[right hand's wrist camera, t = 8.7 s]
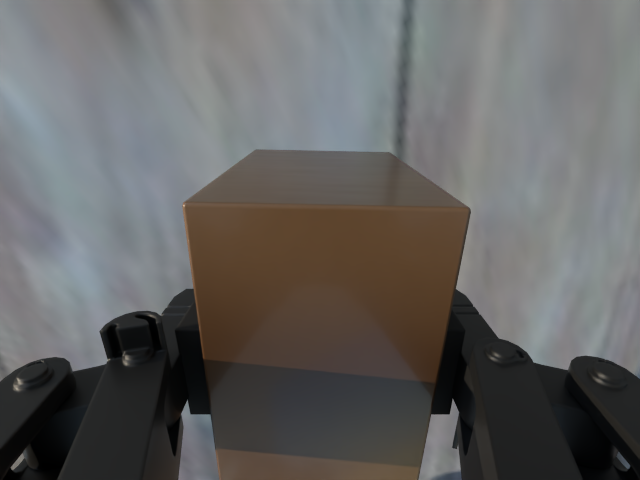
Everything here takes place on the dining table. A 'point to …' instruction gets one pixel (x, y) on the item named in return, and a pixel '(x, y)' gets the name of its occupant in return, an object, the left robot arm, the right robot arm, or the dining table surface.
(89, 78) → the dining table surface
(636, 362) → the dining table surface
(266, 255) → the beam
